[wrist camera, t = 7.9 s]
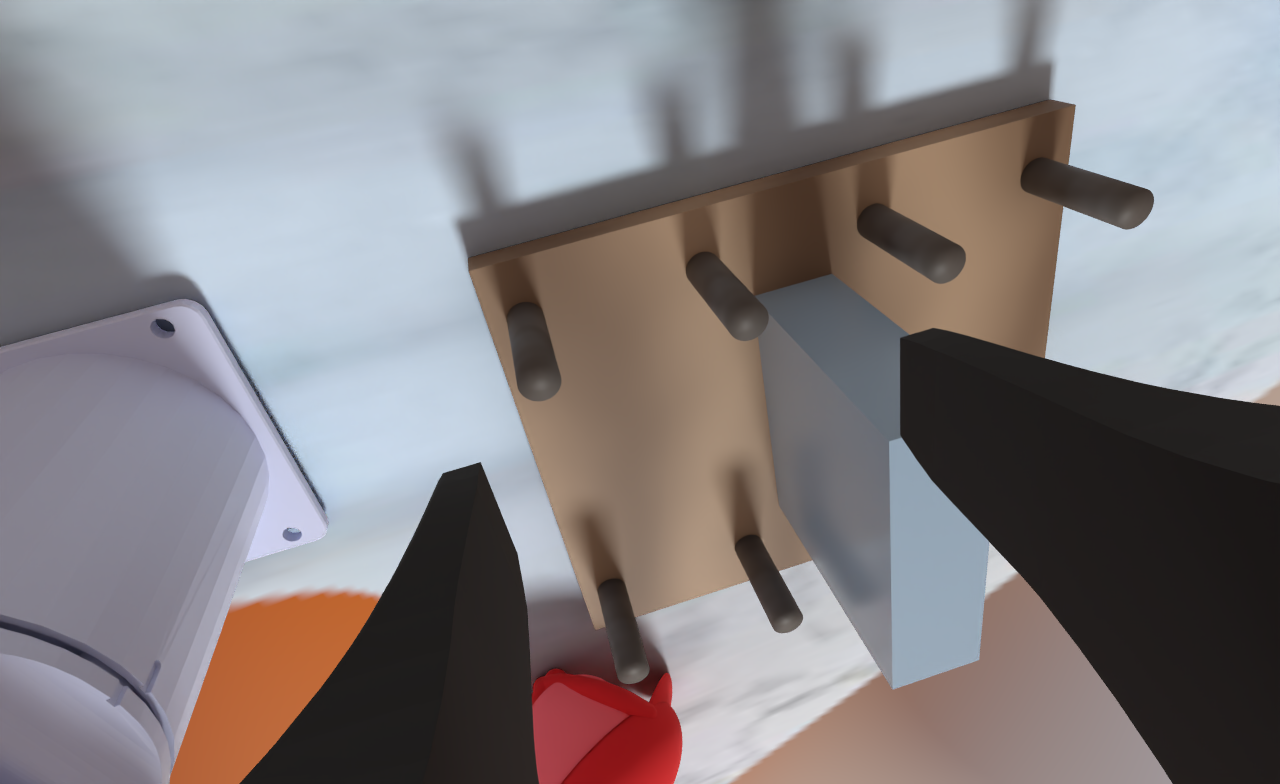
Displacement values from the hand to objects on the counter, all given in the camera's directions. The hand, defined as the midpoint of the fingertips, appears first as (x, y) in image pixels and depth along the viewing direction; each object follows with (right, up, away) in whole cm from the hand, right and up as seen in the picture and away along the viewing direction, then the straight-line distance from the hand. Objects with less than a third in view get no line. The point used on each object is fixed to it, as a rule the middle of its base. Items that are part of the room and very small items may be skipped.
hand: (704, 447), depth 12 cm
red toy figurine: (-3, -11, +17) cm, 21 cm away
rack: (+4, +1, +12) cm, 12 cm away
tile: (+4, +1, +11) cm, 11 cm away
